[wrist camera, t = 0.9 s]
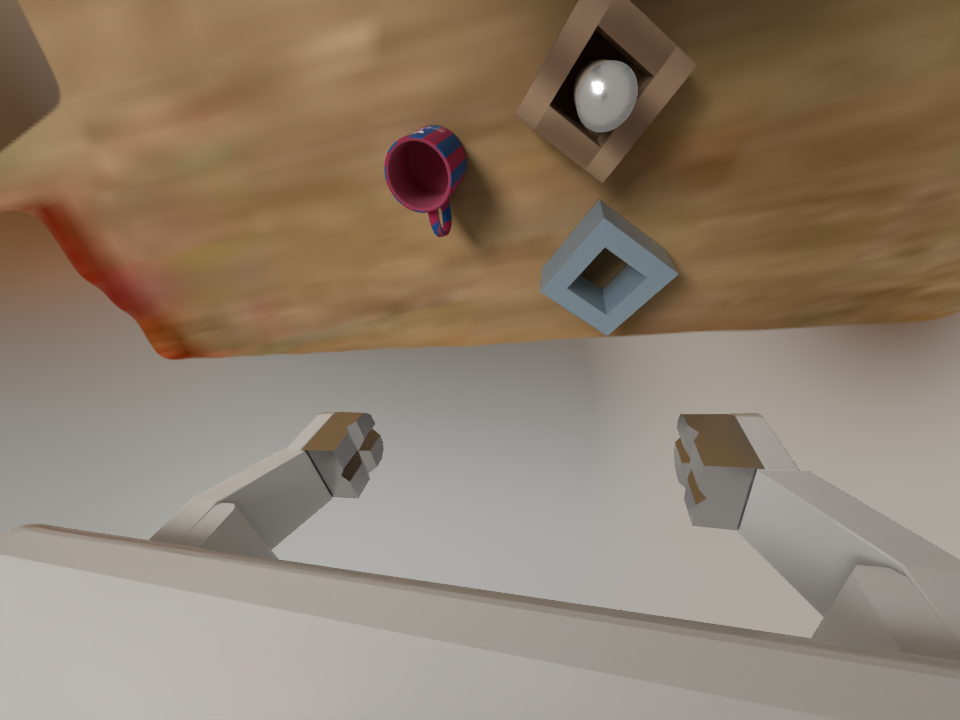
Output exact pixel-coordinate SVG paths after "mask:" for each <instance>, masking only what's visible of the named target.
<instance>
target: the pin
mask: <svg viewBox="0 0 960 720" xmlns="http://www.w3.org/2000/svg"><path fill="white" fill-rule="evenodd" d="M637 95H638V84H637V79H636V76H635V74H634V72H633V70H632V69H631V68H630V67H629V66H628V65H627V64H625V63H623V62H620V61H614V60H602V59H599V60H594V61H591V62H589V63H588V64H586V65H585V66H584V67H583V68H582V69H581V70H580V72H579V73H578V75H577V77H576V79H575V82H574V86H573V97H574V101H575V105H576V109H577V112H578V116H579V118H580V120H581V122H582V123H583V125H584V126H585V127H587V128H588V129H589V130H592V131H594V132H608V131H611V130H613V129H615V128H617V127H618V126H620V125H621V124H622V123H623V122H624V121H625V120H626V119H627V118H628V117H629V115H630V114H631V112H632V110H633V108H634V106H635V103H636V100H637Z"/></svg>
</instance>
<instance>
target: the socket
mask: <svg viewBox="0 0 960 720" xmlns="http://www.w3.org/2000/svg"><path fill="white" fill-rule="evenodd" d="M604 248H607V249H608V250H609V251H611V252H612V253H613V254H615V255H616V256H618V257H619V258H620V259H622V260H623V261H624V262H626V263H627V264H628V265H627V266H626V267H625V268H624V269H623V270H622V271H621V272H620V273H619V274H618V275H617V276H616V277H615V278H614V279H613V280H612V281H611V282H609V283H608V284H607V285H606V286H605V287H604V288H603V289H601V288H599V287H598V286H596V285H595V284H594V283H592V282H591V281H589V280H588V279H586V278H585V277H583V276H582V275H581V273H582V272H583V270H584V269H585V268H586V267H587V266H588V265H589V264H590V263H591V262H592V261H593V260H594V258H595V257H596V256H597V255H598V254H599V253H600V252H601V251H602V250H603V249H604ZM677 275H678V272H677V270H676V268H675V266H674V264H673V263H672V261H671V259H670V257H669V255H668V253H667V251H666V250H665V249H664V248H662V247H661V246H660V245H658V244H657V243H656V242H655V241H653V240H652V239H651V238H649V237H648V236H647V235H645V234H644V233H643V232H642V231H640V230H639V229H638V228H636V227H635V226H634V225H632V224H631V223H630V222H628V221H627V220H626V219H625V218H623V217H622V216H621V215H619V214H618V213H617V212H615V211H614V210H613V209H612V208H610V207H609V206H608V205H606V204H605V203H604V202H602V201H601V200H600V199H599V200H598V201H597V202H596V204H595V205H594V206H593V207H592V208H591V210H590V211H589V212H588V213H587V215H586V216H585V217H584V218H583V219H582V221H581V222H580V223H579V224H578V226H577V227H576V228H575V229H574V230H573V232H572V233H571V234H570V235H569V237H568V238H567V239H566V240H565V241H564V243H563V244H562V245H561V246H560V248H559V249H558V250H557V251H556V252H555V254H554V255H553V256H552V257H551V258H550V260H549V261H548V262H547V263H546V265H545V266H544V267H543V268H542V279H541V290H540V292H541V293H543V294H544V295H546V296H547V297H549V298H551V299H552V300H554V301H555V302H557V303H558V304H560V305H561V306H563V307H564V308H566V309H567V310H569V311H570V312H572V313H573V314H575V315H576V316H578V317H579V318H581V319H582V320H584V321H585V322H587V323H588V324H590V325H591V326H593V327H594V328H596V329H598V330H599V331H601V332H602V333H604V334H605V335H607V336H608V335H609V334H610V333H611V332H612V331H614V330H615V329H616V328H617V327H618V326H619V325H621V324H622V323H623V322H624V321H625V320H626V319H627V318H629V317H630V316H631V315H632V314H633V313H634V312H636V311H637V310H638V309H639V308H640V307H641V306H642V305H644V304H645V303H646V302H647V301H648V300H649V299H651V298H652V297H653V296H654V295H655V294H656V293H657V292H659V291H660V290H661V289H662V288H663V287H664V286H666V285H667V284H668V283H669V282H670V281H671V280H672V279H674V278H675V277H676V276H677Z"/></svg>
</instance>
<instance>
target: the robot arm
mask: <svg viewBox="0 0 960 720" xmlns="http://www.w3.org/2000/svg"><path fill="white" fill-rule="evenodd" d="M374 425H375V422H374V420H373V418H372V416H371V415H370V414H367V413H351V412H337V413H336V412H323V413H320V414H318V415H317V416H316V417H315V419H314V420H313V421H312V422H311V423H310V424H309V425H308V426H307V427H306V428H305V429H304V430H303V431H302V433H301V434H300V435H299V436H298V437H297V438H296V439H295V440H294V441H293V442H292V443H291V444H290V445H289V446H288V448H287V449H286V450H280V451H278V452H276V453H274V454H272V455H271V456H269V457H267V458H265V459H263V460H261V461H260V462H258V463H256V464H254V465H252V466H251V467H249V468H247V469H245V470H243V471H242V472H240V473H238V474H236V475H234V476H232V477H231V478H229V479H227V480H225V481H223V482H221V483H220V484H218V485H216V486H214V487H212V488H210V489H209V490H207V491H205V492H203V493H201V494H199V495H198V496H196V497H194V498H192V500H190V501H189V502H188V503H187V504H186V505H185V506H184V507H183V508H182V509H181V510H180V511H179V512H178V513H177V514H175V515H174V516H173V517H172V518H171V519H170V520H169V521H168V522H167V523H166V524H165V525H164V526H163V527H162V528H161V529H160V530H159V531H158V532H157V533H155V534H154V535H153V536H152V537H151V538H150V539H149V540H143V539H137V538H131V537H124V536H117V535H110V534H104V533H97V532H90V531H83V530H76V529H70V528H63V527H57V526H51V525H45V524H28V525H23V526H20V527H17V528H14V529H11V530H8V531H6V532H3V533H1V534H0V720H960V560H959V559H958V558H956V557H954V556H953V555H951V554H949V553H948V552H946V551H944V550H942V549H941V548H939V547H937V546H936V545H934V544H932V543H931V542H929V541H927V540H925V539H923V538H922V537H920V536H919V535H916V534H915V533H913V532H912V531H910V530H908V529H906V528H905V527H903V526H902V525H899V524H898V523H896V522H895V521H893V520H891V519H890V518H888V517H886V516H885V515H883V514H881V513H879V512H878V511H876V510H874V509H872V508H871V507H869V506H868V505H866V504H864V503H862V502H861V501H859V500H857V499H856V498H854V497H852V496H851V495H849V494H847V493H845V492H844V491H842V490H840V489H838V488H837V487H835V486H833V485H832V484H830V483H828V482H827V481H825V480H823V479H822V478H820V477H818V476H816V475H815V474H813V473H811V472H809V471H800V470H799V469H798V467H797V466H796V464H795V463H794V461H793V460H792V459H791V457H790V456H789V454H788V453H787V451H786V450H785V448H784V447H783V445H782V444H781V442H780V441H779V439H778V438H777V437H776V435H775V434H774V432H773V431H772V429H771V428H770V426H769V425H768V424H767V422H766V421H765V419H764V418H763V416H761V415H760V414H758V413H748V414H747V413H745V414H680V416H679V419H678V425H677V429H678V432H679V435H680V438H679V439H678V440H677V441H676V442H675V450H674V458H675V468H676V473H677V477H678V480H679V483H681V485H683V486H684V487H685V488H686V490H685V497H684V500H685V503H686V506H687V510H688V513H689V516H690V519H691V522H692V525H693V526H701V527H712V528H720V529H721V528H722V529H730V530H739V532H738V533H739V534H740V535H741V536H743V537H744V539H746V541H748V542H749V544H751V545H752V546H753V547H754V548H755V549H756V550H757V551H758V552H759V553H760V554H761V555H762V556H763V557H764V558H765V559H766V560H767V561H768V562H769V563H770V564H771V565H772V566H773V567H774V568H775V569H776V570H777V571H778V572H779V573H780V574H781V575H782V576H783V577H784V578H785V579H786V580H787V581H788V582H789V583H790V584H791V585H792V586H793V587H794V588H795V589H796V590H797V591H798V592H799V593H800V594H801V595H802V596H803V597H804V598H805V599H806V600H807V601H808V602H809V603H810V604H811V605H812V606H813V607H814V608H815V609H816V610H817V611H818V612H819V613H820V614H821V615H822V616H823V617H824V618H823V620H822V621H821V623H820V625H819V627H818V628H817V630H816V631H815V633H814V634H813V636H812V638H805V637H798V636H791V635H785V634H778V633H771V632H764V631H758V630H751V629H744V628H737V627H731V626H724V625H717V624H710V623H704V622H696V621H690V620H683V619H677V618H670V617H663V616H656V615H650V614H643V613H636V612H629V611H623V610H616V609H609V608H602V607H596V606H589V605H582V604H575V603H569V602H562V601H555V600H548V599H542V598H535V597H527V596H521V595H515V594H508V593H501V592H494V591H487V590H481V589H474V588H467V587H460V586H454V585H447V584H440V583H433V582H427V581H419V580H413V579H406V578H399V577H393V576H386V575H379V574H372V573H365V572H359V571H352V570H345V569H338V568H331V567H325V566H318V565H311V564H304V563H298V562H291V561H284V560H279V559H278V558H277V557H276V555H275V554H274V553H273V552H272V551H271V550H272V549H273V548H274V547H275V546H276V545H278V544H279V543H280V542H281V541H282V540H283V539H285V538H286V537H287V536H288V535H290V534H291V533H292V532H293V531H294V530H295V529H297V528H298V527H299V526H300V525H301V524H303V523H304V522H305V521H306V520H307V519H309V518H310V517H311V516H312V515H313V514H315V513H316V512H317V511H318V510H319V509H320V508H321V507H323V506H324V505H325V504H326V503H328V502H329V501H330V500H331V499H332V497H345V498H359V496H360V494H361V493H362V491H363V489H364V488H365V486H366V484H367V483H368V481H369V480H370V477H369V472H370V471H372V470H373V469H375V468H376V467H377V466H378V464H379V462H380V461H381V459H382V454H383V441H382V439H381V436H380V435H379V434H378V433H377V432H376V431H374V430H373V428H374Z"/></svg>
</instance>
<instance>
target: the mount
mask: <svg viewBox="0 0 960 720" xmlns="http://www.w3.org/2000/svg"><path fill="white" fill-rule="evenodd" d="M594 30H595V31H596V32H597V33H598V34H600V35H601V36H602V37H603V38H604V39H605V40H606V41H607V42H608V43H610V44H611V45H612V46H613V47H614V48H615V49H616V50H617V51H618V52H620V53H621V54H622V55H623V56H624V57H625V58H626V59H627V60H628V61H629V62H631V63H632V64H633V65H634V66H635V67H636V68H637V69H638V70H639V71H641V72H642V73H643V74H644V75H643V76H642V77H641V79H640V80H639V82H638V83H637V84H638V95H637V100H636V103H635V106H634V108H633V110H632V112H631V114H630V115H629V117H628V118H627V119H626V120H625V121H624V122H623V123H622V124H621V125H620V126H618V127H617V128H615V129H613V130H611V131H608V132H601V134H600V135H599V137H598V138H596V137H595V136H594V135H592V134H591V133H590V132H589V131H587V130H586V129H585V128H584V127H582V126H581V125H580V124H579V123H578V122H576V121H575V120H574V119H573V118H571V117H570V116H569V115H568V114H567V113H565V112H564V111H563V110H562V109H560V108H559V107H558V106H557V105H555V104H554V103H553V102H552V100H553V98H554V97H555V95H556V93H557V92H558V90H559V88H560V87H561V85H562V83H563V82H564V80H565V78H566V77H567V75H568V73H569V72H570V70H571V68H572V67H573V65H574V64H575V62H576V60H577V59H578V57H579V55H580V54H581V52H582V50H583V49H584V47H585V45H586V44H587V42H588V40H589V39H590V37H591V35H592V34H593V32H594ZM696 66H697V64H696V63H695V62H694V61H693V60H692V59H691V58H690V57H689V56H688V55H687V54H685V53H684V52H683V51H682V50H681V49H680V48H679V47H678V46H677V45H676V44H675V43H674V42H673V41H672V40H671V39H670V38H669V37H668V36H667V35H666V34H664V33H663V32H662V31H661V30H660V29H659V28H658V27H657V26H656V25H655V24H654V23H653V22H652V21H651V20H650V19H649V18H648V17H647V16H646V15H645V14H644V13H642V12H641V11H640V10H639V9H638V8H637V7H636V6H635V5H634V4H633V3H632V2H631V1H630V0H578V2H577V4H576V6H575V7H574V9H573V11H572V13H571V15H570V16H569V18H568V20H567V22H566V24H565V25H564V27H563V29H562V31H561V33H560V34H559V36H558V38H557V40H556V42H555V43H554V45H553V47H552V49H551V51H550V52H549V54H548V56H547V58H546V60H545V61H544V63H543V65H542V67H541V69H540V70H539V72H538V74H537V76H536V78H535V79H534V81H533V83H532V85H531V87H530V88H529V90H528V92H527V94H526V96H525V97H524V99H523V101H522V103H521V105H520V106H519V108H518V110H517V112H516V114H515V116H516V117H517V118H519V119H520V120H521V121H523V122H524V123H525V124H526V125H528V126H529V127H530V128H532V129H533V130H534V131H535V132H537V133H538V134H539V135H541V136H542V137H543V138H544V139H546V140H547V141H548V142H549V143H551V144H552V145H553V146H555V147H556V148H557V149H558V150H560V151H561V152H562V153H564V154H565V155H566V156H567V157H569V158H570V159H571V160H572V161H574V162H575V163H576V164H578V165H579V166H580V167H581V168H583V169H584V170H585V171H587V172H588V173H589V174H590V175H592V176H593V177H594V178H596V179H597V180H598V181H599V182H601V183H602V184H603V182H604V181H605V180H606V179H607V177H608V176H609V175H610V174H611V172H612V171H613V170H614V169H615V167H616V166H617V165H618V164H619V162H620V161H621V160H622V159H623V157H624V156H625V155H626V154H627V152H628V151H629V150H630V149H631V147H632V146H633V145H634V144H635V142H636V141H637V140H638V139H639V137H640V136H641V135H642V134H643V132H644V131H645V130H646V129H647V127H648V126H649V125H650V124H651V122H652V121H653V120H654V119H655V117H656V116H657V115H658V114H659V112H660V111H661V110H662V109H663V107H664V106H665V105H666V104H667V102H668V101H669V100H670V99H671V97H672V96H673V95H674V94H675V92H676V91H677V90H678V89H679V87H680V86H681V85H682V84H683V82H684V81H685V80H686V79H687V78H688V76H689V75H690V74H691V73H692V71H693V70H694V69H695V68H696Z"/></svg>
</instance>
